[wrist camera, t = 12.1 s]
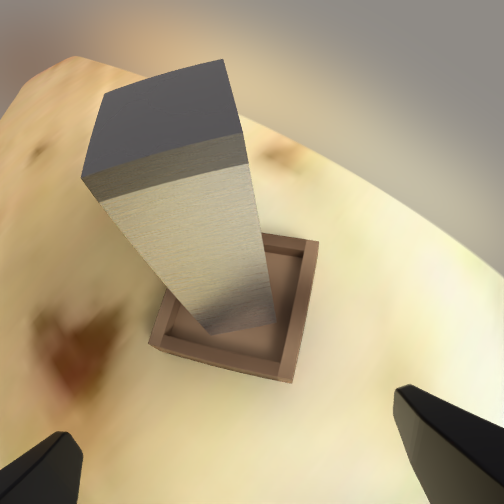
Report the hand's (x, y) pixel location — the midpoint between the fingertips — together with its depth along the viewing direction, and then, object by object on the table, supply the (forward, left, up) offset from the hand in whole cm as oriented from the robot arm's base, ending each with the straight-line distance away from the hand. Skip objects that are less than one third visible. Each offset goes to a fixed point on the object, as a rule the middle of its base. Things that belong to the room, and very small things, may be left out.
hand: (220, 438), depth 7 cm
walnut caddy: (+7, +3, -11) cm, 14 cm away
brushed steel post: (+7, +3, -10) cm, 13 cm away
